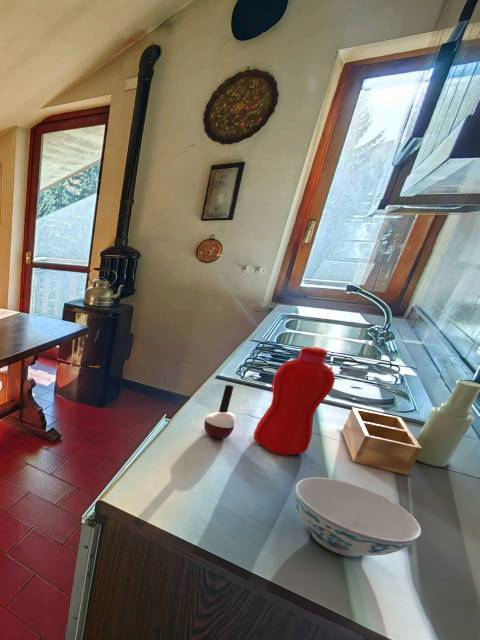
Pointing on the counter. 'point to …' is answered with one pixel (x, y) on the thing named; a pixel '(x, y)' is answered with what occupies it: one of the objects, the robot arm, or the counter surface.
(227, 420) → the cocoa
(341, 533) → the chinaware
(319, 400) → the red plastic tall container
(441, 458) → the bottle
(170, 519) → the counter surface
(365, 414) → the box
